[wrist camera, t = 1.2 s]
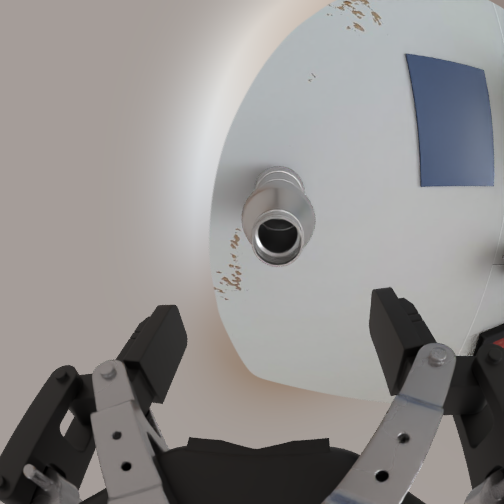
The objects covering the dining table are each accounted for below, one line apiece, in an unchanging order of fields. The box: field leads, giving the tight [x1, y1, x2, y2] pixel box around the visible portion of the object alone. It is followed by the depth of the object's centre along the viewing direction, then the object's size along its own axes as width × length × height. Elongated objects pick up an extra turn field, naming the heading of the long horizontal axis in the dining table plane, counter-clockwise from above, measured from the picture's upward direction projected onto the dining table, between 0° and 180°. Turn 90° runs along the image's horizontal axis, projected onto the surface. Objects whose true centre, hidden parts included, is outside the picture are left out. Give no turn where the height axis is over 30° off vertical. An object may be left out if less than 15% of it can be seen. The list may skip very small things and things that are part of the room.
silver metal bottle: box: [242, 166, 315, 267], centre depth 28 cm, size 6×7×20 cm
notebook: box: [474, 324, 504, 356], centre depth 44 cm, size 16×2×21 cm
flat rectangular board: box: [406, 54, 494, 187], centre depth 29 cm, size 20×16×1 cm
